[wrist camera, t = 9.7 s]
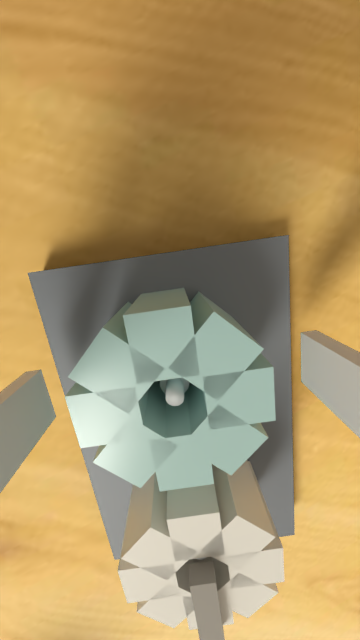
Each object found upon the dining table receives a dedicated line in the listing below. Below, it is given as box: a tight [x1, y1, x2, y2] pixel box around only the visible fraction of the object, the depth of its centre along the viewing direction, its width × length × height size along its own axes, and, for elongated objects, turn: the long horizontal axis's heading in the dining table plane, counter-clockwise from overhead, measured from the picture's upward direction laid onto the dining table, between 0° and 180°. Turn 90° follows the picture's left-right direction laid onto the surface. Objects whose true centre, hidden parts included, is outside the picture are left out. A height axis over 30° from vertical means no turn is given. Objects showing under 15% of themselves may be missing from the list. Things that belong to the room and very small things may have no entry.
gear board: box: [28, 235, 294, 560], centre depth 14 cm, size 22×14×6 cm, turn 8°
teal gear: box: [65, 288, 276, 491], centre depth 12 cm, size 8×8×5 cm
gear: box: [118, 460, 284, 640], centre depth 14 cm, size 8×8×6 cm
